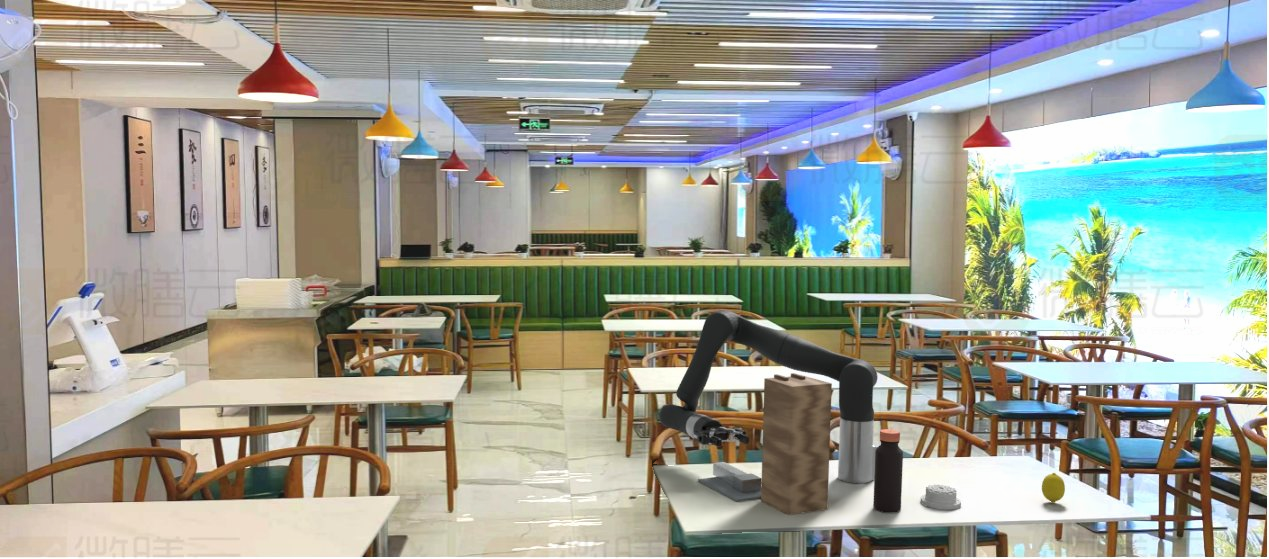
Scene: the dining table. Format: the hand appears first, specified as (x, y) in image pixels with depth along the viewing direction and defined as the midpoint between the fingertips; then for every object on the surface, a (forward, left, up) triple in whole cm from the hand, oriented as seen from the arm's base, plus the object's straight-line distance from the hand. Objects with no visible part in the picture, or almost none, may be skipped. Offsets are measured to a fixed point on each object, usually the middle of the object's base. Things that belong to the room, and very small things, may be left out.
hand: (734, 441), depth 260 cm
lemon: (-69, +46, -12) cm, 84 cm away
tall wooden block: (-5, +21, -12) cm, 25 cm away
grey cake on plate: (-41, +35, -12) cm, 55 cm away
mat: (+1, +3, -12) cm, 12 cm away
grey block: (0, 0, -11) cm, 11 cm away
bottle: (-25, +33, -12) cm, 43 cm away
